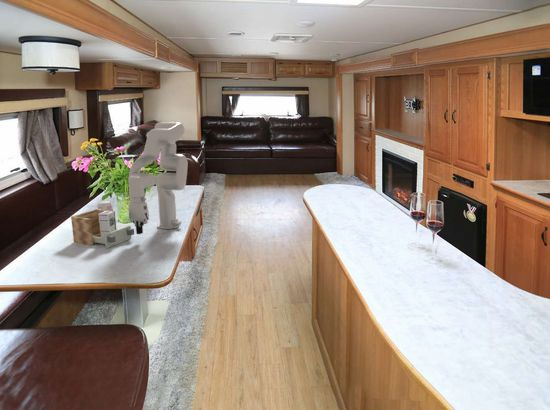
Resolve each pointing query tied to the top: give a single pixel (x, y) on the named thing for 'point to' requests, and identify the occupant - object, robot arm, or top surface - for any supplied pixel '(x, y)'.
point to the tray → (115, 236)
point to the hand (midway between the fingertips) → (139, 233)
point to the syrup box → (107, 222)
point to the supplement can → (105, 205)
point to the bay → (87, 226)
